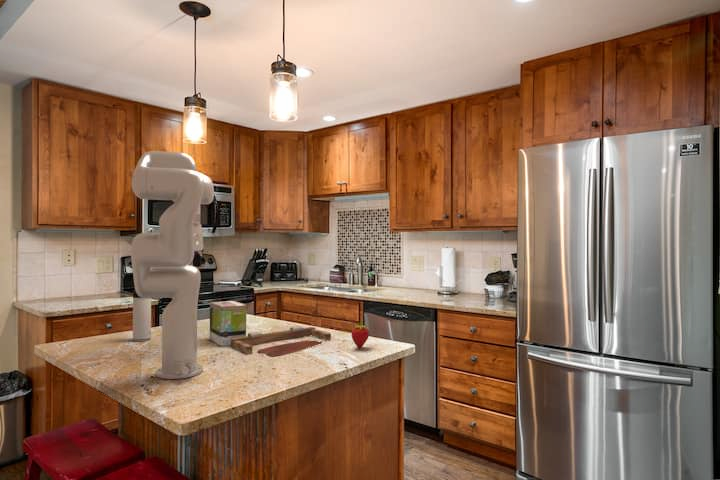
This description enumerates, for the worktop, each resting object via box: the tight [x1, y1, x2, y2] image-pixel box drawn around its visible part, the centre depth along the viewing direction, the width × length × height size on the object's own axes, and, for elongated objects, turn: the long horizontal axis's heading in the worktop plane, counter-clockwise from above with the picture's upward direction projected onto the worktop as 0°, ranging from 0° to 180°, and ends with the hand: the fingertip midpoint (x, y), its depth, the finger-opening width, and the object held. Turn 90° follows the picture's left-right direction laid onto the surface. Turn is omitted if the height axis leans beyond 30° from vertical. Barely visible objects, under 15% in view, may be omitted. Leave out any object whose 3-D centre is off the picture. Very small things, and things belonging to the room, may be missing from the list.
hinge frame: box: [230, 325, 332, 355], centre depth 166 cm, size 14×35×4 cm, turn 129°
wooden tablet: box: [257, 339, 323, 358], centre depth 159 cm, size 27×10×2 cm, turn 141°
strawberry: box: [350, 324, 370, 349], centre depth 158 cm, size 6×8×10 cm
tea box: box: [209, 300, 248, 347], centre depth 168 cm, size 15×10×15 cm, turn 34°
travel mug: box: [132, 289, 152, 343], centre depth 170 cm, size 6×7×20 cm
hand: (188, 267), depth 158 cm, fingers open, 9 cm apart
